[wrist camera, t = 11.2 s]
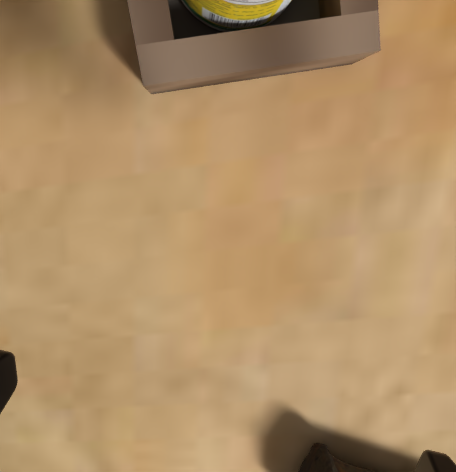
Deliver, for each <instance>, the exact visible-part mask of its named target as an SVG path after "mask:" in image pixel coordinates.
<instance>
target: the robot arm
mask: <svg viewBox="0 0 456 472" xmlns="http://www.w3.org/2000/svg"><path fill="white" fill-rule="evenodd" d="M16 386H17V371H16V363H15V356H14V355H13V353H11V352H8V351H3V350H0V413H1V412H2V410H3V409H4V407H5V405H6V404H7V402H8V401H9V399H10V397H11V396H12V394H13V392H14V391H15V388H16ZM414 472H456V464H455V463H454V462H453V461H452V460H451V458H450V457H449V456H447V455H446V454H443V453H439V452H435V451H431V450H425V451H424V452H423V453H422V455H421V457H420V459H419V462H418V464H417V466H416V468H415V471H414Z"/></svg>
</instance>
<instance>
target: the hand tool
mask: <svg viewBox="0 0 456 472" xmlns="http://www.w3.org/2000/svg"><path fill="white" fill-rule="evenodd" d="M299 472H373V471H371V470H368V469H363V468H359V467H356V466H353V465H350V464H347V463H344V462H342V461H339V460H338V459H336V458H335V457H333V456H332V455H331V454H330V453H329V451H328V449H327V446H326V445H324V444H320V443H315V444H314V445H313V446H312V448H311V450H310V452H309V454H308V456H307V457H306V458H305V459H304V461H303V463H302V465H301V468H300V470H299Z"/></svg>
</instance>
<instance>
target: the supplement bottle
mask: <svg viewBox="0 0 456 472" xmlns="http://www.w3.org/2000/svg"><path fill="white" fill-rule="evenodd" d="M181 1H182V2H183V4H184V5H185V6H186V8H187V9H188V10H189V11H190V12H191V13H192V14H193V15H194V16H195V17H196V18H197V19H198V20H200V21H201V22H203V23H204V24H206V25H208V26H209V27H211V28H214V29H216V30H219V31H223V32H231V31H238V30H245V29H252V28H259V27H264V26H266V25H268V24H269V23H271V22H272V21H274V20H275V19H276V18H277V17H278V16H280V15H281V13H282V12H283V11H284V10H285V9H286V8H287V6H288V5H289V4H290V2H291V1H292V0H181Z"/></svg>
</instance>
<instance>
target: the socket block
mask: <svg viewBox="0 0 456 472" xmlns="http://www.w3.org/2000/svg"><path fill="white" fill-rule="evenodd" d="M127 2H128V8H129V13H130V18H131V24H132V29H133V34H134V39H135V45H136V50H137V55H138V61H139V66H140V71H141V77H142V82H143V86H144V87H145V88H146V89H147V90H148V91H149V92H150V93H151V94H156V93H163V92H169V91H176V90H183V89H189V88H196V87H203V86H209V85H216V84H223V83H229V82H236V81H243V80H249V79H256V78H263V77H269V76H276V75H283V74H289V73H296V72H303V71H309V70H316V69H323V68H329V67H336V66H343V65H349V64H353V63H355V62H357V61H359V60H362V59H364V58H366V57H368V56H370V55H372V54H374V53H377V52H379V51H381V49H380V31H379V13H378V0H292V1H291V2H290V4H289V5H288V6H287V8H286V9H285V10H284V11H283V12H282V13H281V15H280V16H278V17H277V18H276V19H275V20H274V21H272V22H271V23H269V24H268V25H266V26H264V27H259V28H252V29H245V30H238V31H231V32H223V31H219V30H216V29H214V28H211V27H209V26H208V25H206V24H204V23H203V22H201V21H200V20H198V19H197V18H196V17H195V16H194V15H193V14H192V13H191V12H190V11H189V10H188V9H187V8H186V6H185V5H184V4H183V2H182V1H181V0H127Z"/></svg>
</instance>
